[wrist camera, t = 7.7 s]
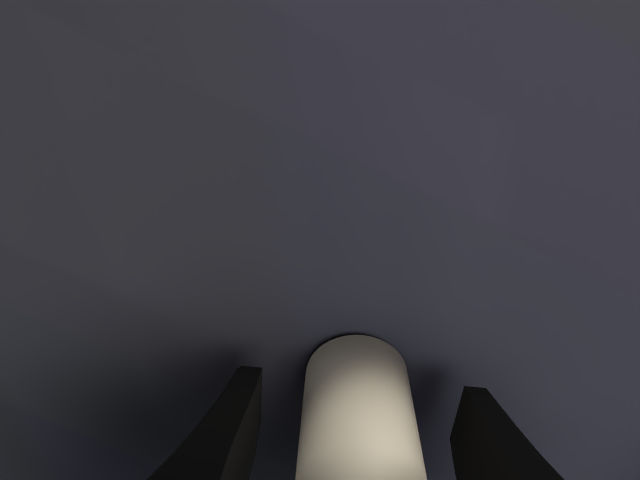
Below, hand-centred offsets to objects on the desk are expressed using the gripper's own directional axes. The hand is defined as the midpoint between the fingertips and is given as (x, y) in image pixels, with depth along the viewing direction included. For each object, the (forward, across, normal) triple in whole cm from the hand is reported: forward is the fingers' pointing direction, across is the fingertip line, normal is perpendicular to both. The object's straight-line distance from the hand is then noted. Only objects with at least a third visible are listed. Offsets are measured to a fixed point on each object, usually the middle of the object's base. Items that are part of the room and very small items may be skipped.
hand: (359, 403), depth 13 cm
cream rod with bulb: (+2, 0, +8) cm, 8 cm away
